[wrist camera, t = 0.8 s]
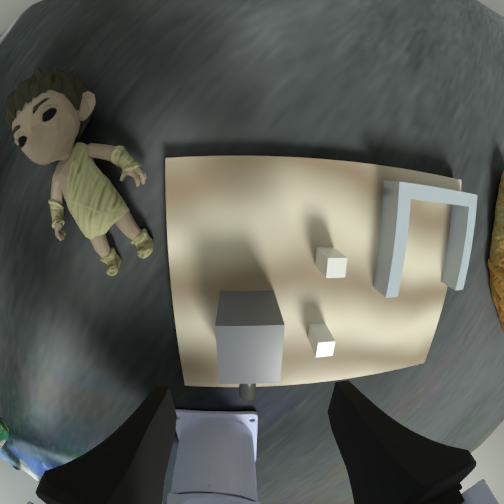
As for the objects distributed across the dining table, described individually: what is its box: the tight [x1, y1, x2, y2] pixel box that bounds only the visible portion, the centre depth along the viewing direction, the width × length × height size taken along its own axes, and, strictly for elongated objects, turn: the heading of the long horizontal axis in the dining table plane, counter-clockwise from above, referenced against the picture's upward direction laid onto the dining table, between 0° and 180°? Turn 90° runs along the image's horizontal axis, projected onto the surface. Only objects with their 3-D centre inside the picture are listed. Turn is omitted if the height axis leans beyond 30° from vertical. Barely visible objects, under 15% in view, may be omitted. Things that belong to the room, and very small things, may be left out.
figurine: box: [5, 68, 154, 276], centre depth 14 cm, size 8×6×15 cm
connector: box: [215, 291, 285, 401], centre depth 17 cm, size 8×4×4 cm, turn 179°
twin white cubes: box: [308, 247, 347, 357], centre depth 17 cm, size 7×1×2 cm, turn 179°
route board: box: [165, 156, 461, 387], centre depth 19 cm, size 17×22×1 cm
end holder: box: [373, 181, 477, 298], centre depth 17 cm, size 8×8×2 cm
